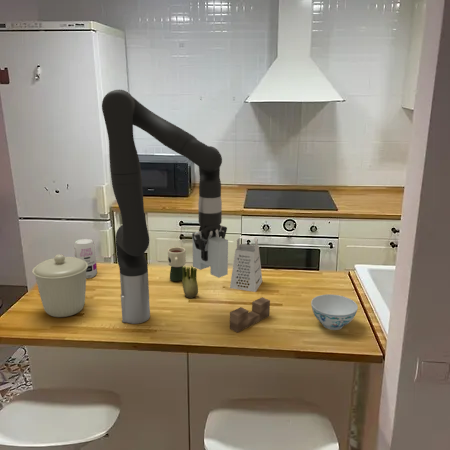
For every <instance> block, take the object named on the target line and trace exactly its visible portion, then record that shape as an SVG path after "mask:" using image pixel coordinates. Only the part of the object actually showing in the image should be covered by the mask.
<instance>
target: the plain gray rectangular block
mask: <svg viewBox="0 0 450 450" xmlns="http://www.w3.org/2000/svg"><path fill="white" fill-rule="evenodd" d="M197 232H198V231H196V232H195V233H197ZM193 233H194V232H193ZM193 233H192V234H193ZM192 234H191V235H192ZM203 240H204V241H207V240H205V239H204V238H203ZM204 247H205V243H204ZM207 251H208V261H203V260H202V259H201V250H199V249H197V248H196V246H195V243H194V240H193V239H192V267H193V268H196V269H197V270H199V271H201V270H204V269H207V268H209V267H210V275H211V276H213V277H216V278H218V279H220V278H222V277H225V276H227V275H229V274H228V272H229V271H228V269H229V260H228V259H229V256H228V255H229V240H228V239H227V238H226V239H223V238H220V237H212V238H211V239H209V244H208V250H207Z"/></svg>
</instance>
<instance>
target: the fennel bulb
mask: <svg viewBox="0 0 450 450" xmlns="http://www.w3.org/2000/svg"><path fill="white" fill-rule="evenodd" d="M182 271H183V279H182V280H181V282H182V290H183V293H184V295H185V297H186V298H189V299H191V298H195V297H197V295H198V294H199V286H198V285H199V284H198V281H197V280H198V279H197V271H198V269H197V268H195V267H193V265H192V266H186V265H184V266H183V267H182Z"/></svg>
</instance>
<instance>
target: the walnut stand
mask: <svg viewBox="0 0 450 450" xmlns="http://www.w3.org/2000/svg"><path fill="white" fill-rule="evenodd" d="M270 305H271V300H270V299H267V298H265V297H262V296H261V297H260V298H257V299H255V300H253V301H252V303H251V311H249V310H248V309H246V308H243V307H242V306H241V307H237V308H235V309H234V310H232V311H230V312H229V329H230V330H231V331H233V332H236V333H240V332H241V331H242V330H243V331H244V330H245V329H247V328H249V327H251V326H253V325H255V324H257V323H259V322H260V321H262V320H265V319H267V318H268V317H270V310H271V309H270V307H271V306H270Z"/></svg>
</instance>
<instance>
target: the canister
mask: <svg viewBox="0 0 450 450" xmlns="http://www.w3.org/2000/svg"><path fill="white" fill-rule="evenodd" d="M87 268H88V263H87V262H86V261H84V260H81V259H79V258H75V256H65V255H63V254H62V253H59V254H56V255H55V256H54V257H52V258H49V259H46V260H42V261H41V262H40V263H38V264H37V265H36V266H34V267H33V268H32V269H31V270H32V271H31V272H32V275H33V276H34V277H35V280H36V285H37V289H38V293H39V296H40V301H41V304H42V307H43V310H44V312H45V313H46V314H47V315H49V316H51V317H55V318H65V317H71V316H73V315H76V314H78V313H80V312H81V311H82V310H83V308H84V307H85V304H86V303H85V302H86V291H87V290H86V288H87V278H86V269H87Z"/></svg>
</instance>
